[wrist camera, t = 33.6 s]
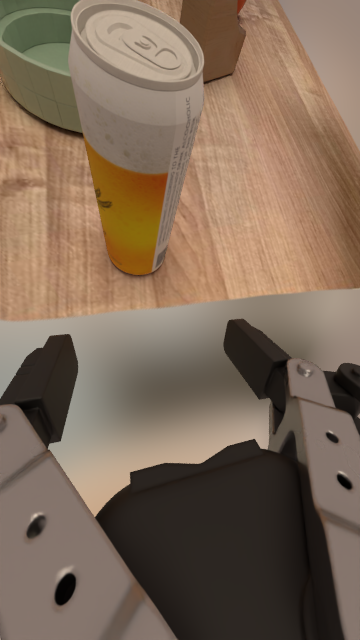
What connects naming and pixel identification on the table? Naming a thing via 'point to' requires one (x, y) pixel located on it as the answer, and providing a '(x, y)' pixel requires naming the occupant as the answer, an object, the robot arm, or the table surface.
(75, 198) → the table surface
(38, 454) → the robot arm
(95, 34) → the beer can
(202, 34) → the decorative block
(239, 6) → the tomato
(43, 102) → the bowl
